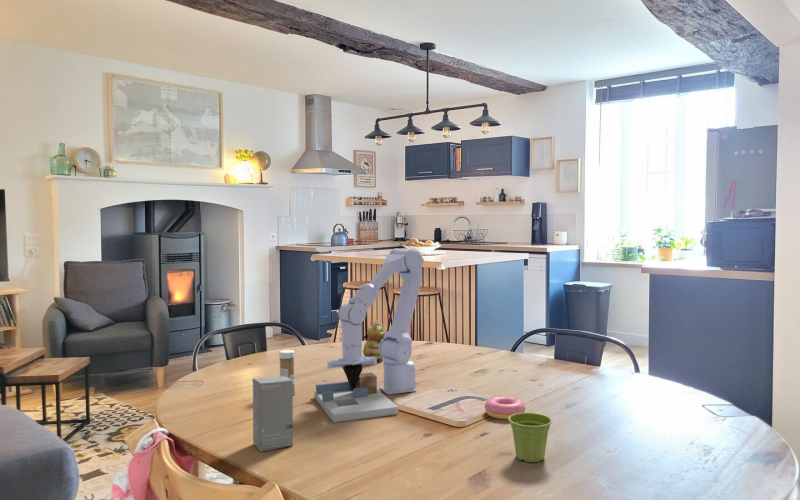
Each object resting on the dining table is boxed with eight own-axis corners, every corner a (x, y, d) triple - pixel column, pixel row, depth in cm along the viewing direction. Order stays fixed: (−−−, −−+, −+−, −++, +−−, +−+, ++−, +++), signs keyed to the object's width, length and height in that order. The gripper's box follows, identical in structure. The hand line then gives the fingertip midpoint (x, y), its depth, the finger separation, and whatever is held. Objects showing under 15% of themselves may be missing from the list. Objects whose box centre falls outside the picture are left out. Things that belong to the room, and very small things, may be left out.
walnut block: (371, 388, 183) (371, 372, 183) (376, 393, 178) (376, 376, 178) (355, 390, 181) (355, 373, 181) (360, 394, 176) (360, 377, 176)
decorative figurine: (384, 363, 224) (384, 322, 223) (362, 363, 224) (361, 323, 223) (385, 357, 233) (385, 318, 233) (364, 357, 234) (363, 318, 233)
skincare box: (259, 452, 139) (258, 384, 138) (252, 442, 145) (250, 377, 144) (295, 446, 143) (294, 379, 142) (286, 436, 149) (285, 372, 148)
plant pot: (503, 450, 138) (503, 412, 138) (544, 448, 139) (544, 411, 139) (514, 467, 129) (514, 426, 129) (558, 465, 130) (558, 425, 130)
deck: (372, 391, 188) (371, 376, 187) (398, 414, 165) (398, 397, 165) (314, 397, 182) (314, 382, 181) (333, 422, 159) (333, 405, 159)
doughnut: (528, 410, 167) (528, 395, 167) (522, 423, 157) (522, 407, 157) (488, 407, 171) (488, 392, 171) (480, 419, 161) (480, 403, 160)
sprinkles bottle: (297, 395, 184) (296, 351, 183) (283, 397, 182) (282, 353, 181) (291, 391, 188) (290, 348, 187) (277, 394, 185) (276, 350, 185)
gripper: (331, 349, 171) (331, 396, 172) (379, 345, 176) (380, 391, 177) (325, 344, 178) (326, 390, 179) (372, 340, 183) (373, 385, 183)
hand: (352, 390), depth 178 cm, fingers closed
